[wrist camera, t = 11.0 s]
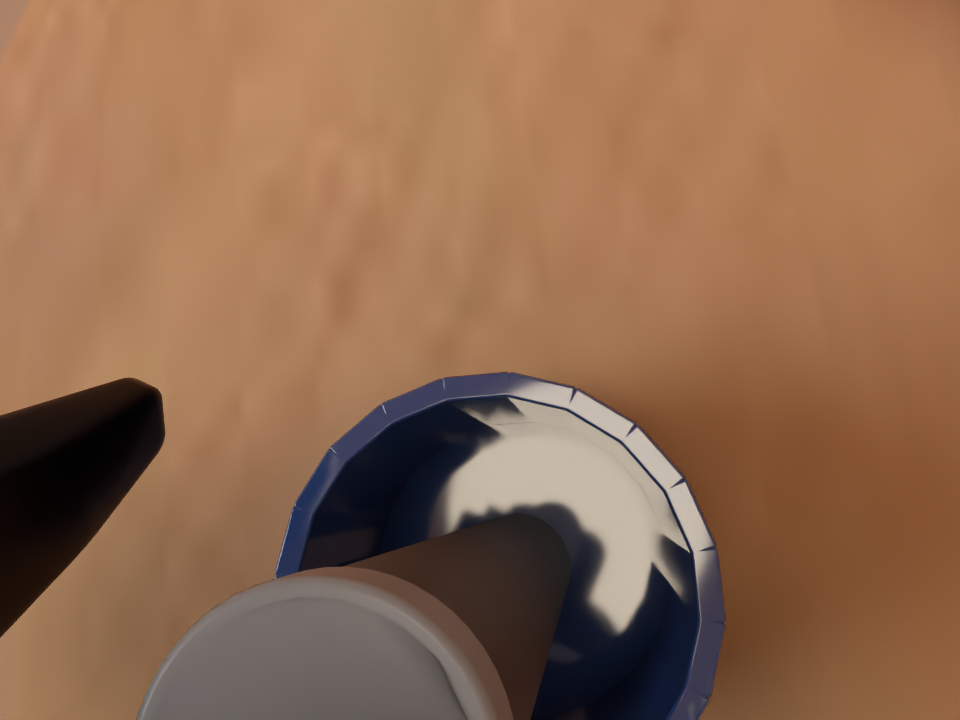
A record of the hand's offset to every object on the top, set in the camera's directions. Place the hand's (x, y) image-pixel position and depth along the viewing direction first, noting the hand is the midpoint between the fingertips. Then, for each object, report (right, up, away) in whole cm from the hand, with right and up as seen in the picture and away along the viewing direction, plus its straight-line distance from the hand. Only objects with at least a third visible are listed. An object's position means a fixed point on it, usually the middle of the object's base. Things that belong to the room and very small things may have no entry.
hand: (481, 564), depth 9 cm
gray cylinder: (+1, -2, +8) cm, 8 cm away
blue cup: (+1, -2, +8) cm, 8 cm away
